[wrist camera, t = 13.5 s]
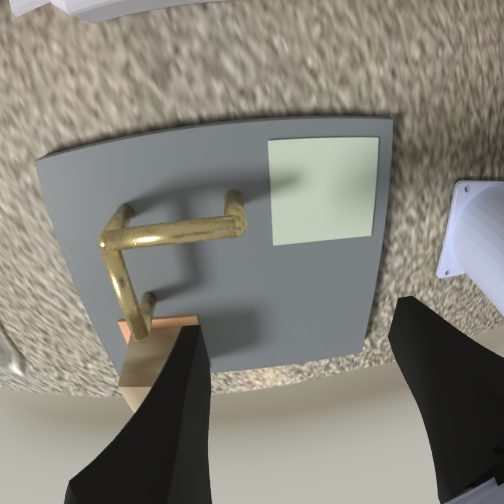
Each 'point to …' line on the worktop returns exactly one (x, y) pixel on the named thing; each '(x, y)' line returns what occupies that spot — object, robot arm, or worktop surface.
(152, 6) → the charger
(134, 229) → the brass corner pipe rail
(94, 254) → the board
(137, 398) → the block
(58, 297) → the worktop surface
